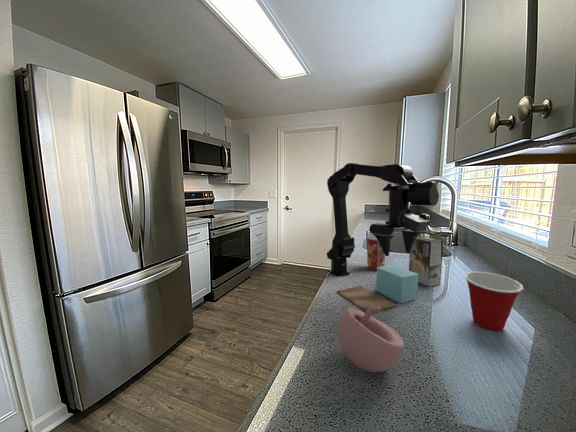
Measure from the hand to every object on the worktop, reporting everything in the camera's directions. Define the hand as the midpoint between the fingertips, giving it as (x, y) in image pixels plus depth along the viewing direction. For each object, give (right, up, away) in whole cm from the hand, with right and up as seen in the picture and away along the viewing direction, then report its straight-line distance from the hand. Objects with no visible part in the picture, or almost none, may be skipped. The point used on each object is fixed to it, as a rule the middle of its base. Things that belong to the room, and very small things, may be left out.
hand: (397, 254), depth 74 cm
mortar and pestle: (-19, -17, -29) cm, 38 cm away
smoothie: (+3, -11, +27) cm, 29 cm away
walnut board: (-11, -14, -2) cm, 18 cm away
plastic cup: (+15, -15, -16) cm, 27 cm away
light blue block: (0, -13, +2) cm, 13 cm away
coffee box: (+16, -12, +13) cm, 24 cm away
